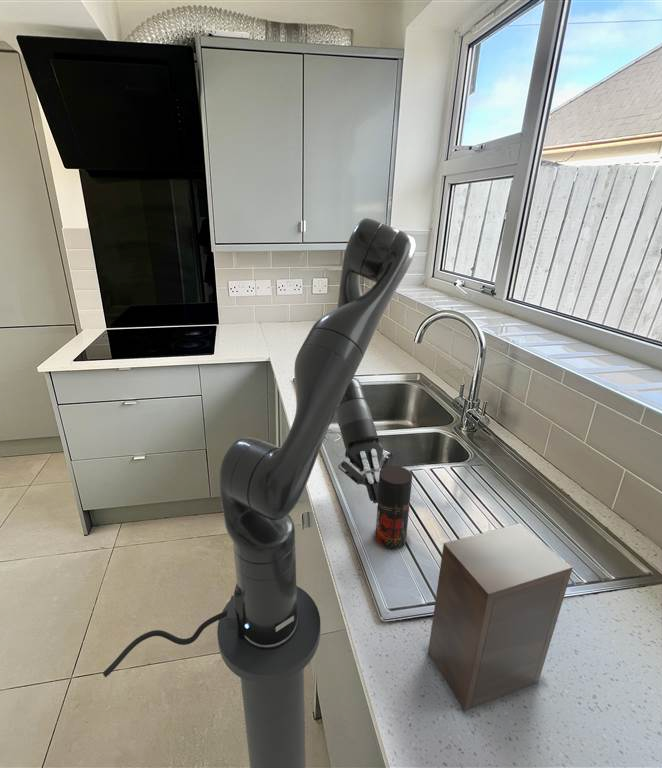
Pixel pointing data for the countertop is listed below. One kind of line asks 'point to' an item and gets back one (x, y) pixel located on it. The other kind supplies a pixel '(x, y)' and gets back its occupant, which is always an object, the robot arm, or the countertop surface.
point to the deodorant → (393, 507)
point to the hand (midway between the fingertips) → (378, 502)
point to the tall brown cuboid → (495, 612)
